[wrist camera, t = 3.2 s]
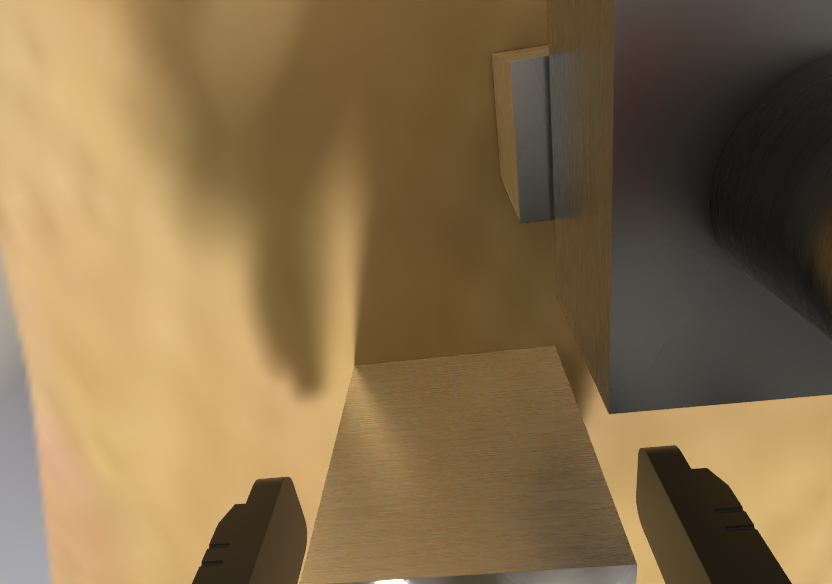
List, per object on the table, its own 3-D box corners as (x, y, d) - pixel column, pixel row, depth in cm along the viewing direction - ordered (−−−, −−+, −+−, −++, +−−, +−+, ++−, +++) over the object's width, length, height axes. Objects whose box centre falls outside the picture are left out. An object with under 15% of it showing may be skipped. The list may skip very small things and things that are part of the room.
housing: (554, 344, 13) (679, 678, 6) (560, 494, 15) (657, 862, 8) (354, 365, 14) (272, 694, 7) (386, 506, 16) (349, 865, 9)
